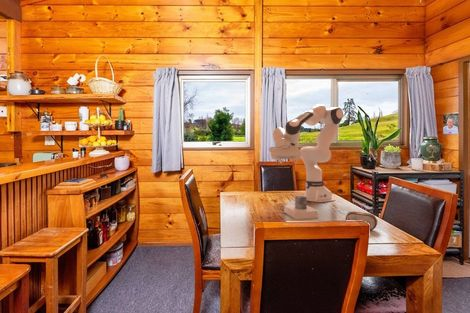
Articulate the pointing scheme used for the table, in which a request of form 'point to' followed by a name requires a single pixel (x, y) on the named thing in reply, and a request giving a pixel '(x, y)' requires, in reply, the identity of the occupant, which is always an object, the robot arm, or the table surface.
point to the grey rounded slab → (363, 218)
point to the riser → (301, 212)
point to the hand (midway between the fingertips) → (288, 162)
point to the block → (300, 202)
